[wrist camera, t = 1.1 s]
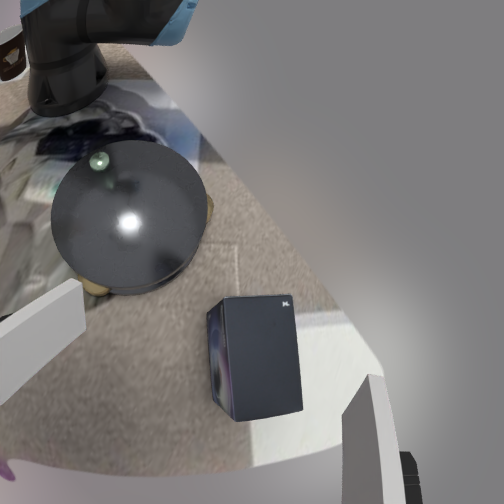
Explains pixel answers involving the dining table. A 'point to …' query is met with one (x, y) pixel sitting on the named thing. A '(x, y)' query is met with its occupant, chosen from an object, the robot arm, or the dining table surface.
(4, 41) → the coffee mug
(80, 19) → the robot arm
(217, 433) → the dining table surface
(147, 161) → the plate
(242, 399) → the small box
